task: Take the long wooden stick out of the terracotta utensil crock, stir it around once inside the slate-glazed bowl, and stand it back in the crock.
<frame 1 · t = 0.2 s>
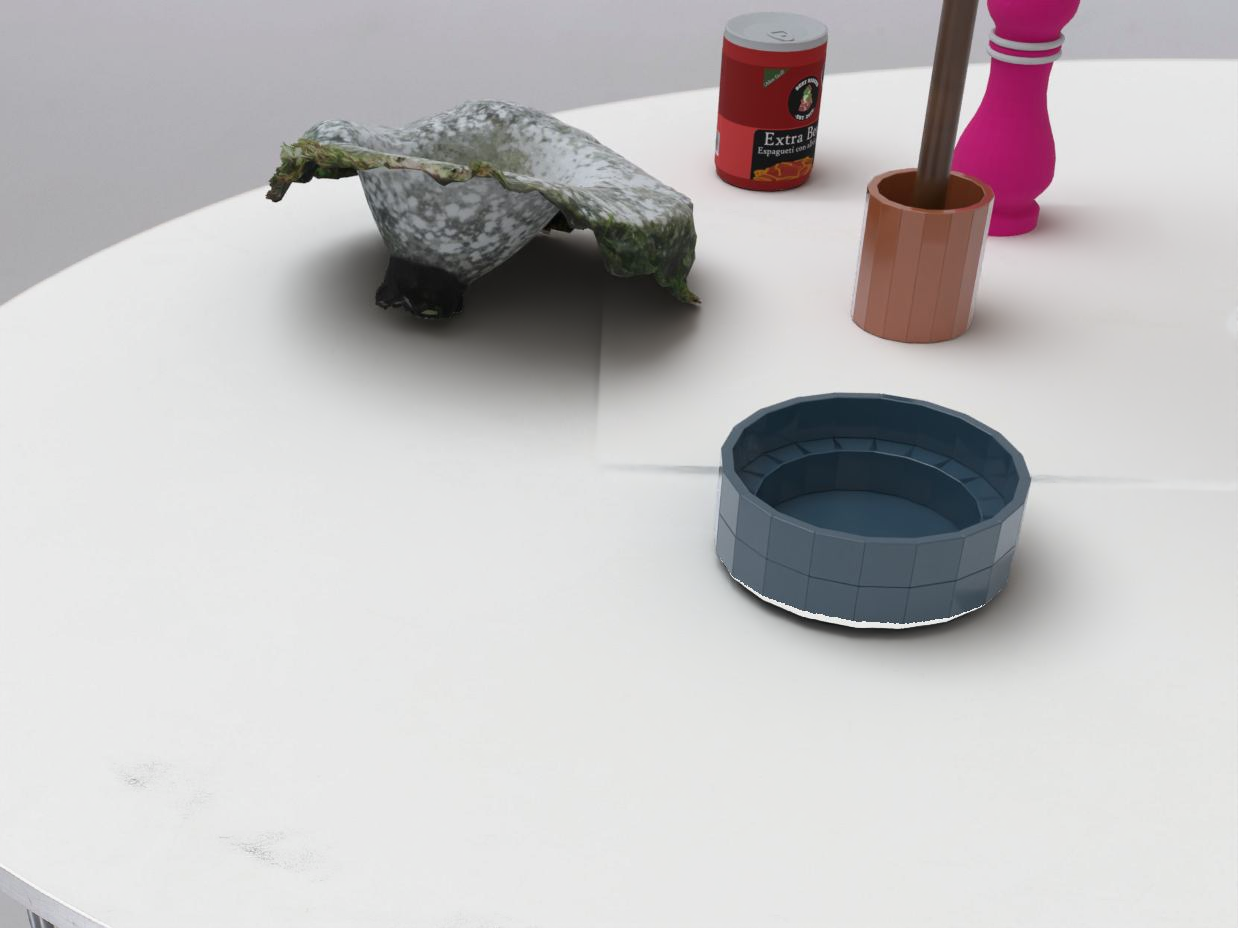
canned food: (762, 176, 129), on the table
crock: (909, 325, 108), on the table
long wooden stick: (910, 317, 107), point 1 cm above the table, touching crock
pepper mill: (990, 229, 120), on the table
bowl: (859, 555, 86), on the table
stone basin: (485, 300, 112), on the table
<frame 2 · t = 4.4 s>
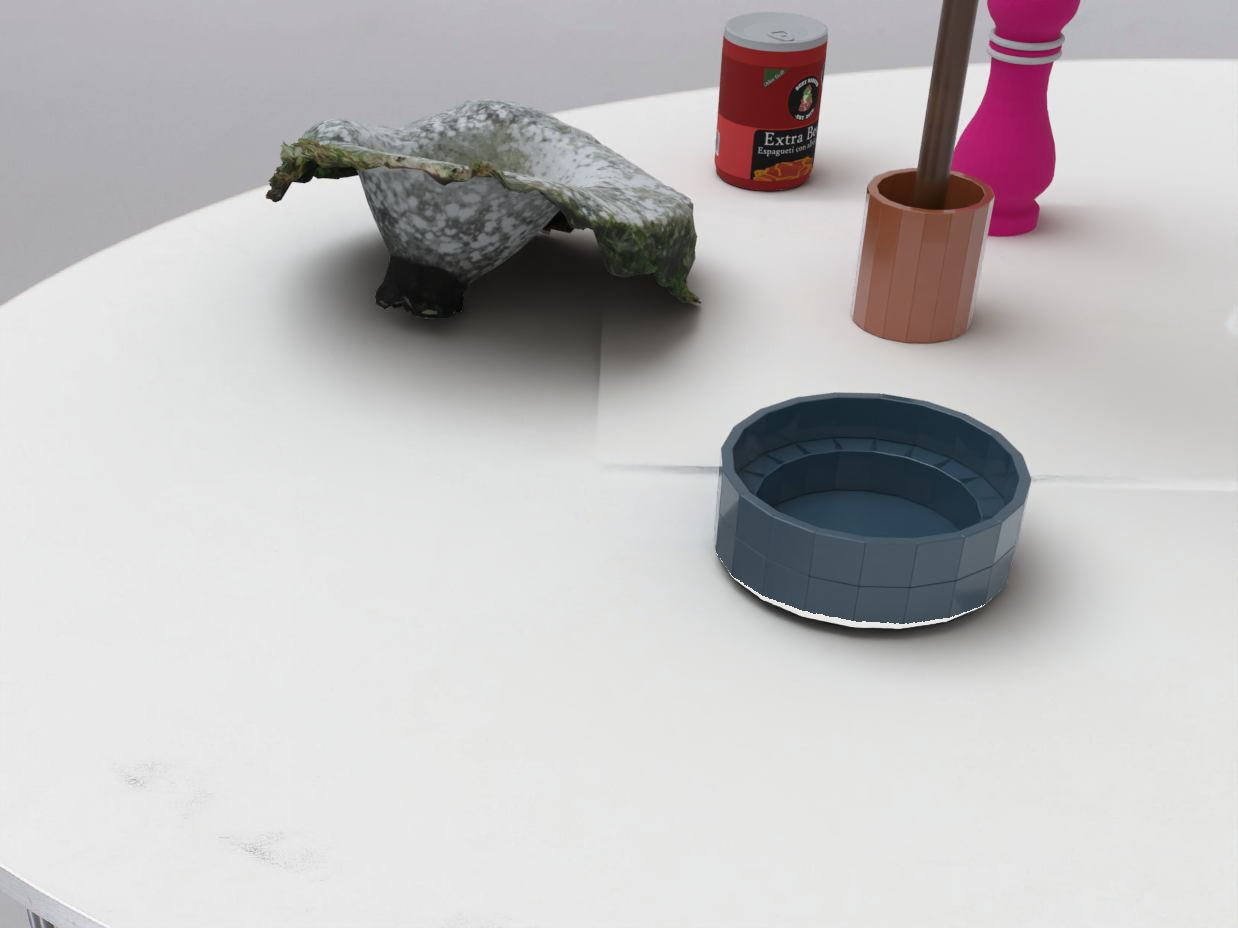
long wooden stick: (910, 317, 107), point 1 cm above the table, touching crock, gripper
everything else where it was.
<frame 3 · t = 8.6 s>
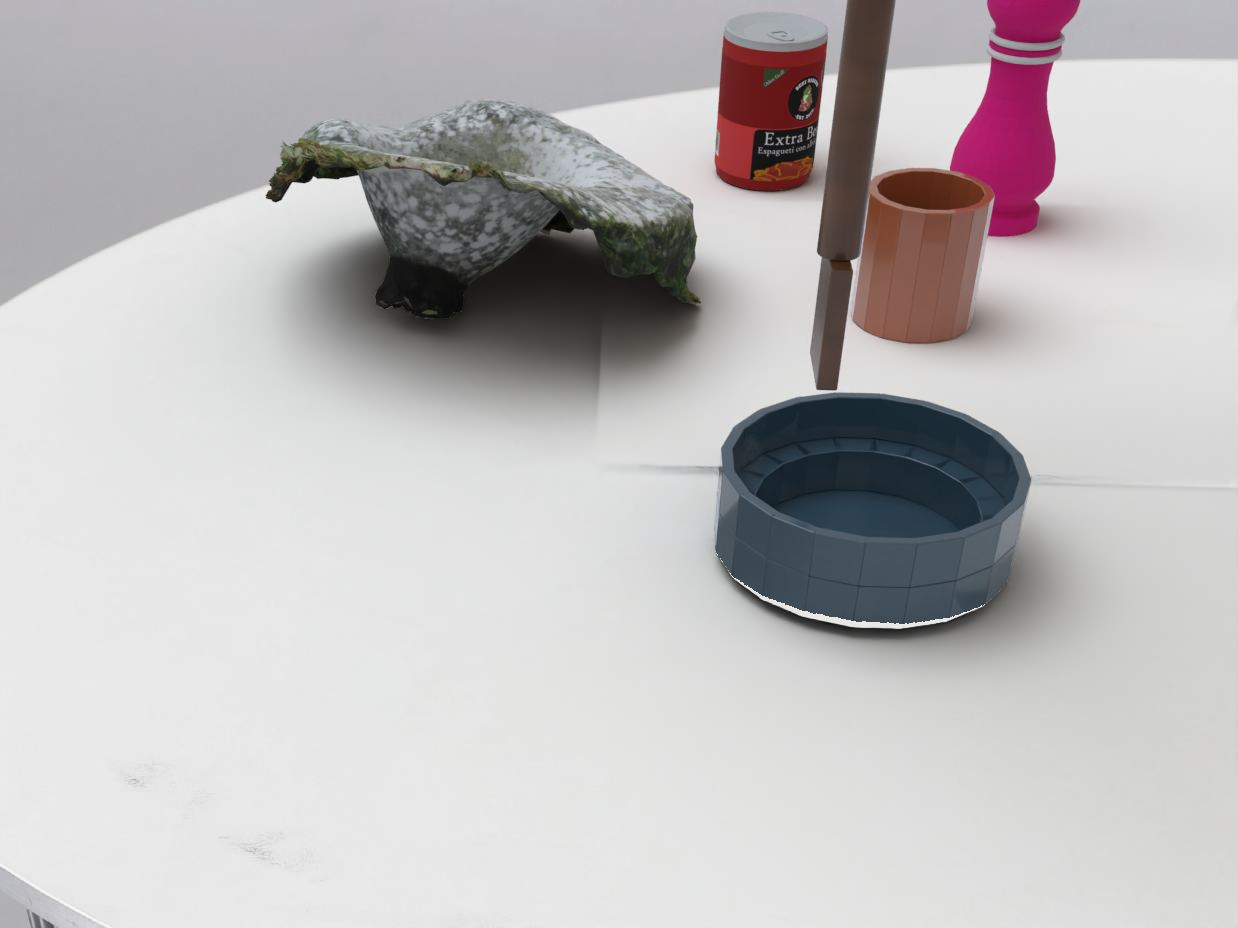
long wooden stick: (823, 371, 80), point 10 cm above the table, touching gripper
everything else where it was.
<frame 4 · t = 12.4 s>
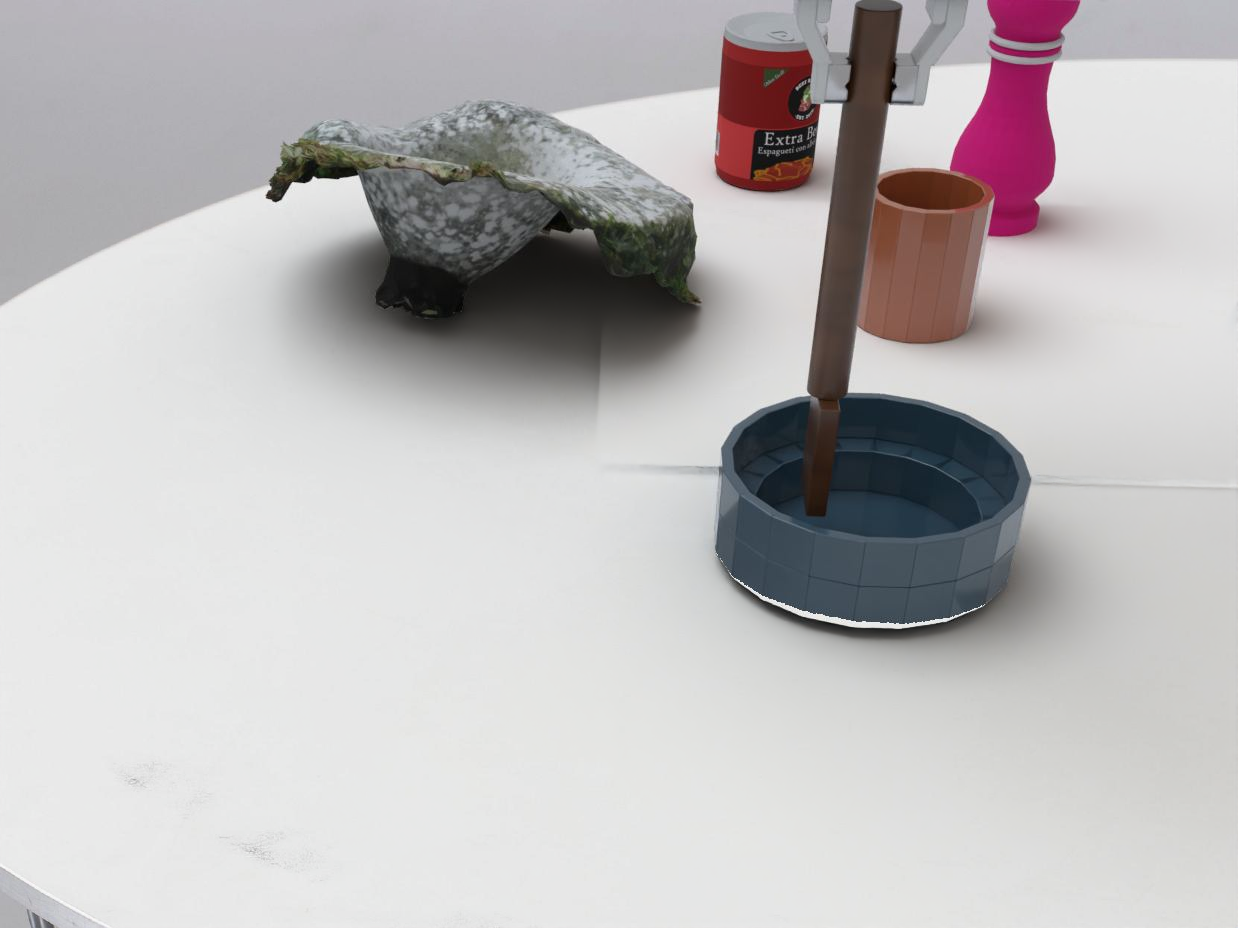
hand: (866, 101, 72), 23 cm above the table, tool pointing down, fingers closed on long wooden stick, 2 cm apart
long wooden stick: (812, 496, 85), point 3 cm above the table, touching gripper
everything else where it was.
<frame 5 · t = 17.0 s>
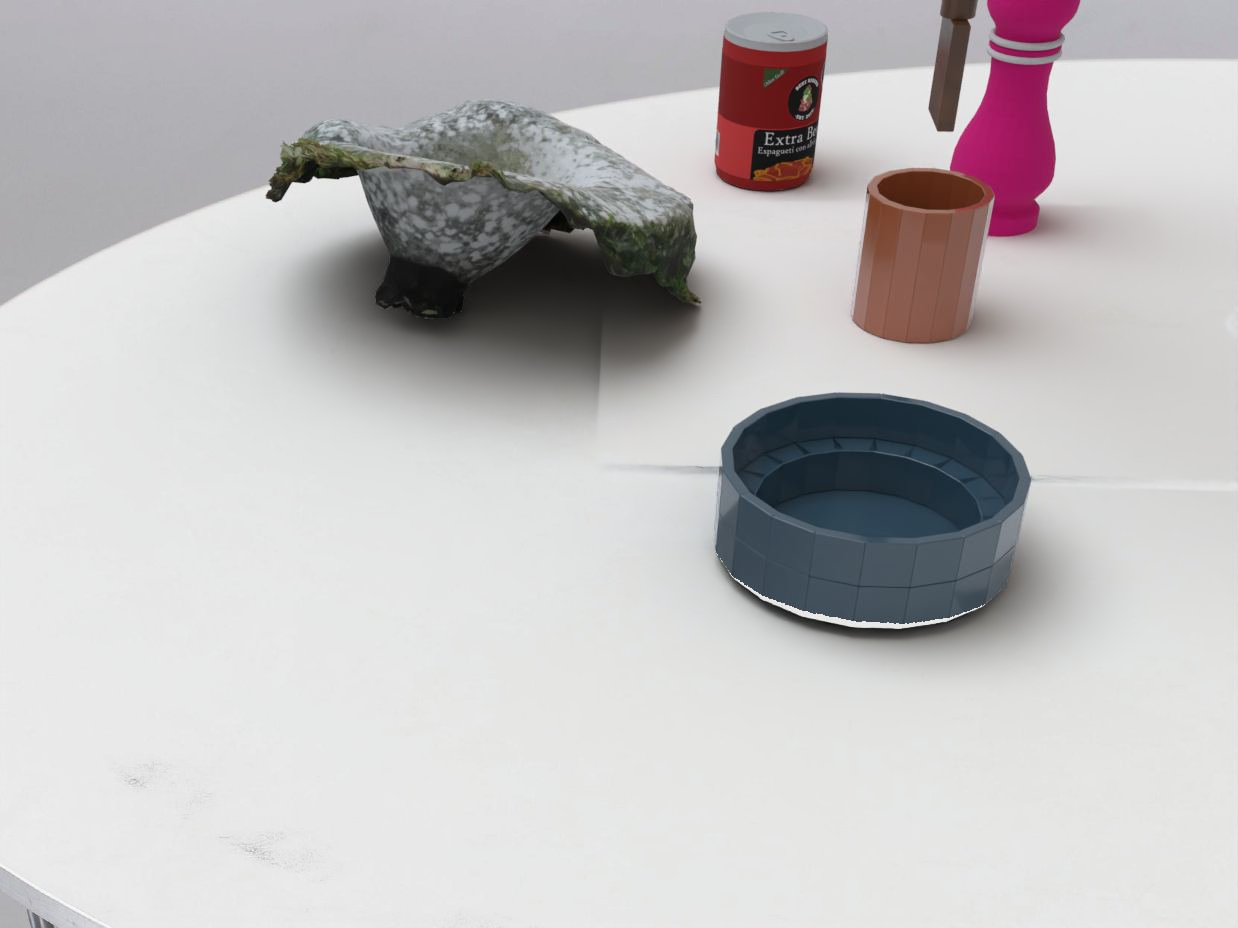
long wooden stick: (940, 120, 99), point 13 cm above the table, touching gripper
everything else where it was.
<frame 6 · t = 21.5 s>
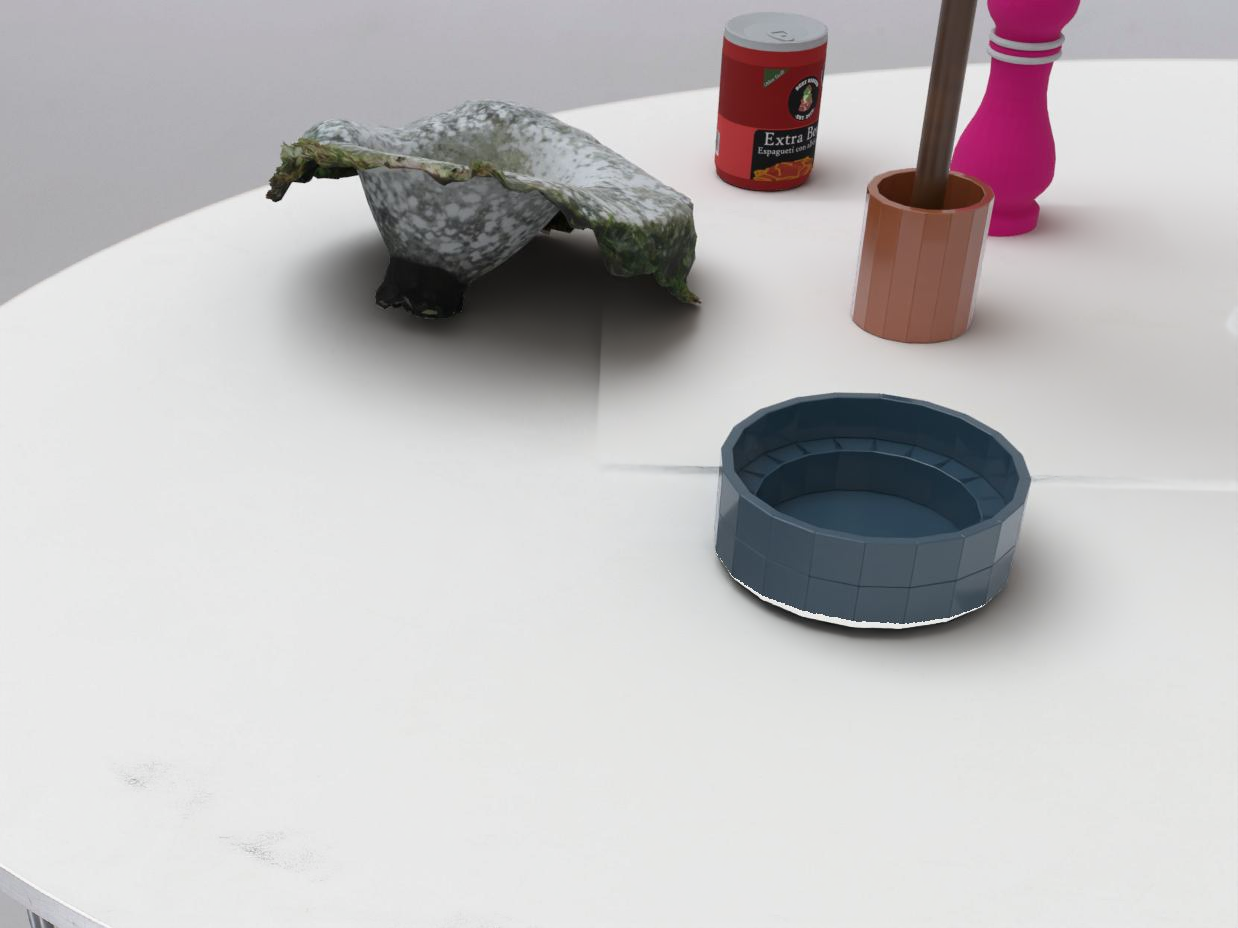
long wooden stick: (909, 316, 107), point 1 cm above the table, touching crock
everything else where it was.
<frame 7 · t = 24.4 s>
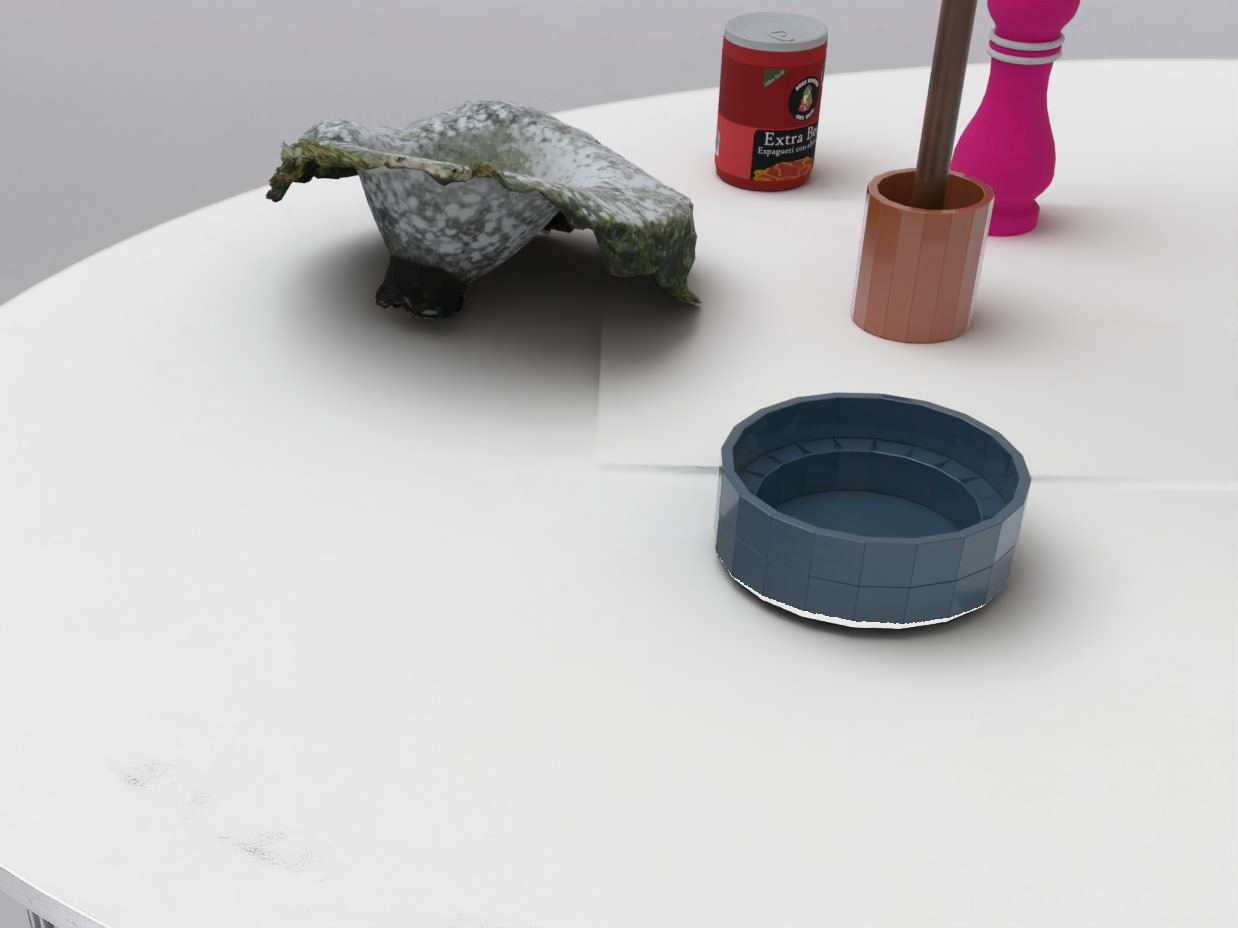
nothing on the table moved.
at the end: long wooden stick 0.1 cm off-centre in the crock, point 0.6 cm above the crock's base; long wooden stick touching crock; the gripper is holding nothing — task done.
